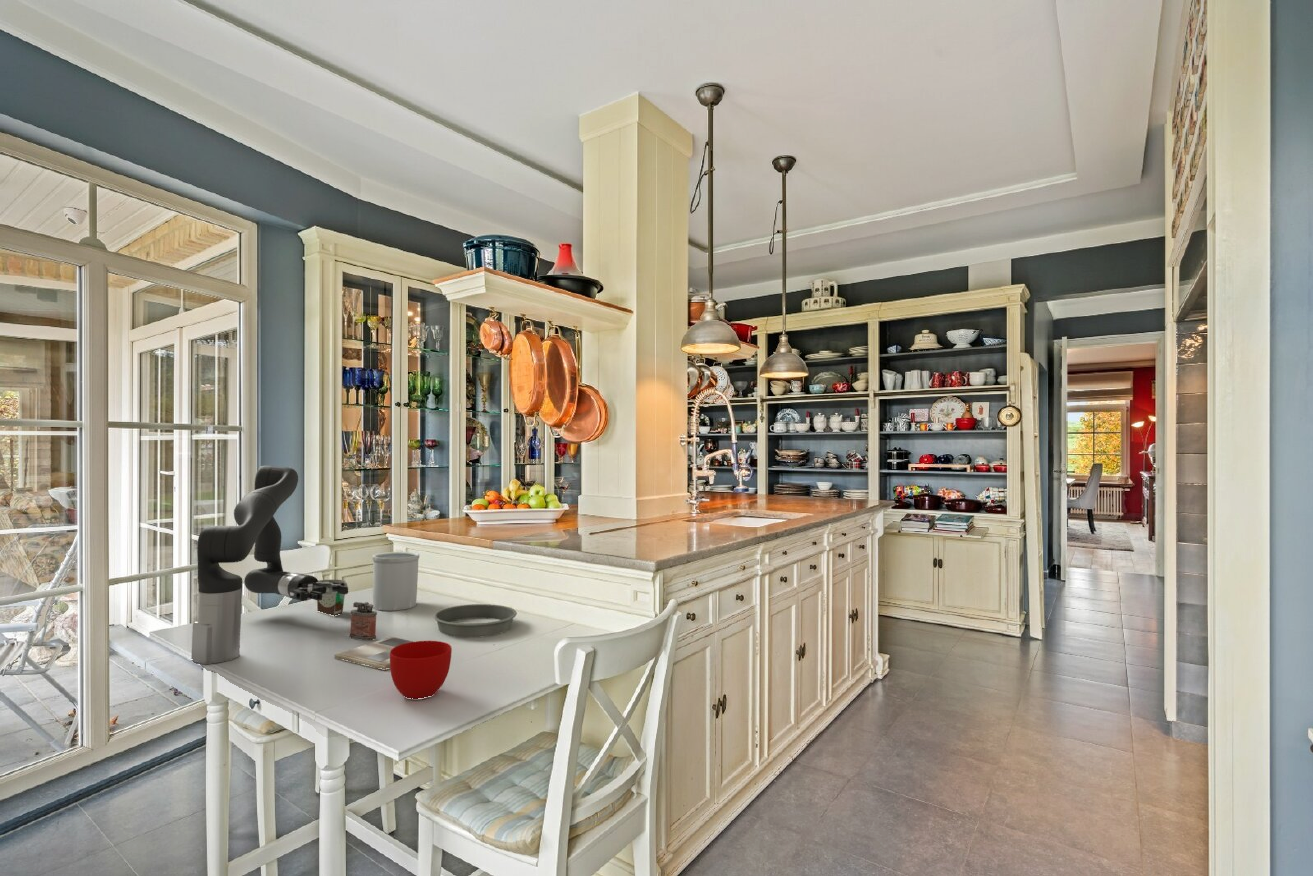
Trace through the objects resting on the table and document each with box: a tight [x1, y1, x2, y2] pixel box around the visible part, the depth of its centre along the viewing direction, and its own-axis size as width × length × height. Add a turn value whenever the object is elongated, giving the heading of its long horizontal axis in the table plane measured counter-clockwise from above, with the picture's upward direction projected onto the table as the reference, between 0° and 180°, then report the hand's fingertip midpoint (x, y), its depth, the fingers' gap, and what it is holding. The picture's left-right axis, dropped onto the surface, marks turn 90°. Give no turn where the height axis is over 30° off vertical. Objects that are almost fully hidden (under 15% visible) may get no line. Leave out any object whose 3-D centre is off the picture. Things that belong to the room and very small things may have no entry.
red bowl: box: [389, 640, 453, 699], centre depth 144 cm, size 13×17×10 cm
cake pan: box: [433, 603, 518, 638], centre depth 195 cm, size 25×25×4 cm
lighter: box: [349, 601, 378, 641], centre depth 181 cm, size 8×3×10 cm, turn 74°
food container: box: [316, 579, 349, 616], centre depth 207 cm, size 12×6×10 cm, turn 58°
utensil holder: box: [371, 551, 420, 612], centre depth 217 cm, size 15×15×18 cm
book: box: [334, 636, 414, 669], centre depth 168 cm, size 18×18×1 cm
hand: (334, 593), depth 187 cm, fingers open, 8 cm apart
